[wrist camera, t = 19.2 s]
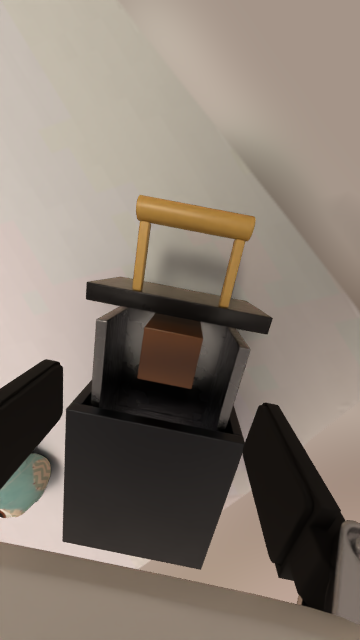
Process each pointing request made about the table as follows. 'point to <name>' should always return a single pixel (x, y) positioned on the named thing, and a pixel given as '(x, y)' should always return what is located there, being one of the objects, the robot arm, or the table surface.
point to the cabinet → (145, 482)
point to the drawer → (211, 310)
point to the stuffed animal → (24, 486)
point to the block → (170, 350)
